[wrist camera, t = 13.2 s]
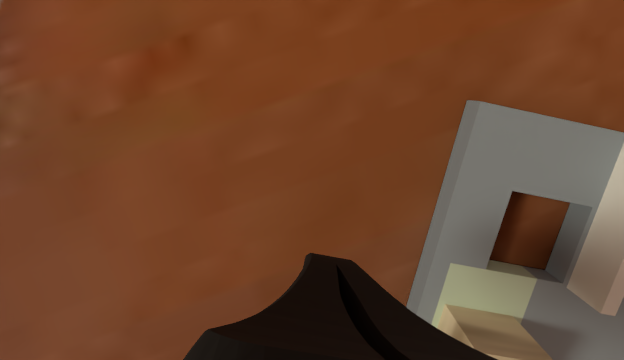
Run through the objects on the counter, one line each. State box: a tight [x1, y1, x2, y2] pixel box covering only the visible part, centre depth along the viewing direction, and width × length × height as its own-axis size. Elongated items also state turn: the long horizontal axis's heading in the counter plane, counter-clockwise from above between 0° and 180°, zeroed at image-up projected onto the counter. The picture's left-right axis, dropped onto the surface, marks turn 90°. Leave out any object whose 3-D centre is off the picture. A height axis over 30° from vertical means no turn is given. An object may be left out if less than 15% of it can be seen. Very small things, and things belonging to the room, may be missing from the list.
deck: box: [406, 100, 624, 360], centre depth 22 cm, size 16×17×2 cm
